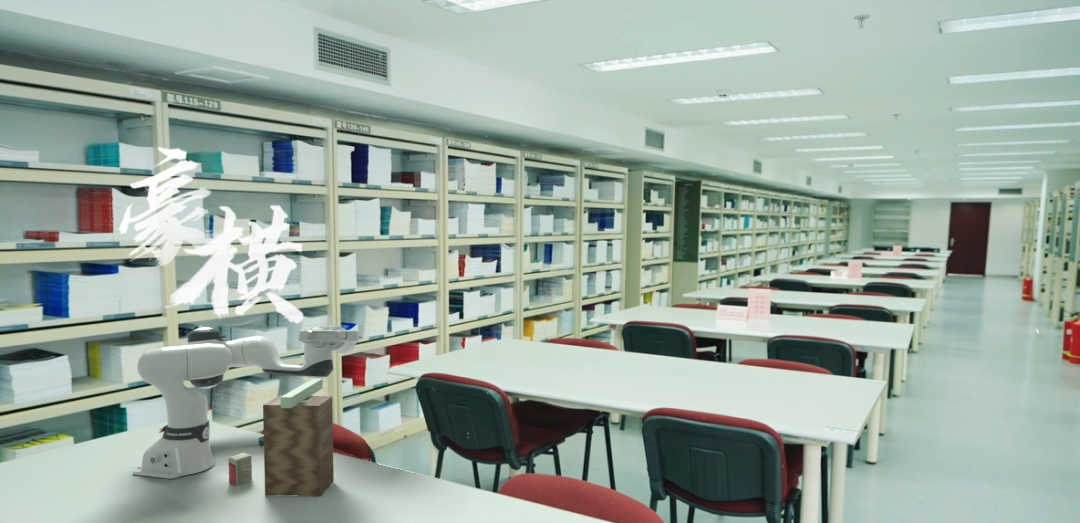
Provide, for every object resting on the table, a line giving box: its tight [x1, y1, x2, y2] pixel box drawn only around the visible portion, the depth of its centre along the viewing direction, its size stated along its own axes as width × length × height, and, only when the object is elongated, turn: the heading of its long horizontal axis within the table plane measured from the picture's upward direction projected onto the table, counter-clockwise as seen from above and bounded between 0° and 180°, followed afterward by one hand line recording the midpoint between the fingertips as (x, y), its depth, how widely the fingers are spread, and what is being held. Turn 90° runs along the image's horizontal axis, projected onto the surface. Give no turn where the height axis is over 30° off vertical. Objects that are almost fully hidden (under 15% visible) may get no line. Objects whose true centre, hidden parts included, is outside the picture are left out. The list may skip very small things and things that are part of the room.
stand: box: [262, 395, 335, 497], centre depth 183 cm, size 16×10×26 cm, turn 87°
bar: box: [280, 378, 324, 408], centre depth 185 cm, size 3×22×3 cm, turn 177°
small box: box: [227, 452, 253, 487], centre depth 189 cm, size 5×4×8 cm
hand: (323, 333), depth 214 cm, fingers open, 8 cm apart
